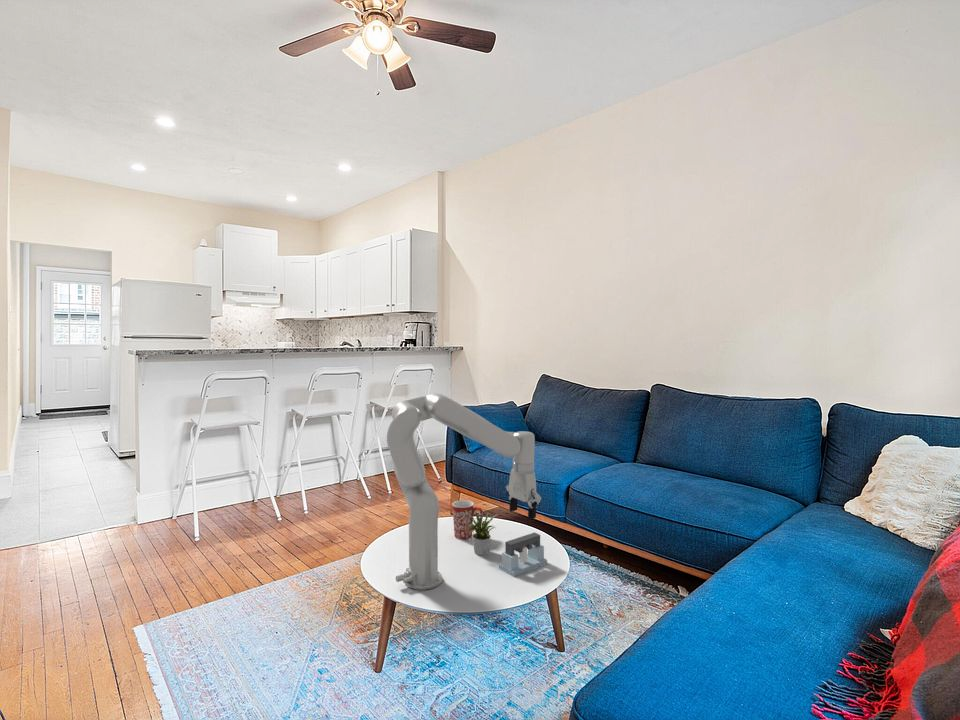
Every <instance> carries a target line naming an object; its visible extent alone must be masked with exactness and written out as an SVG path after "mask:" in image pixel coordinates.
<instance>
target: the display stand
mask: <svg viewBox="0 0 960 720" xmlns="http://www.w3.org/2000/svg"><path fill="white" fill-rule="evenodd" d="M518 553H519V552H518ZM544 553H545V546H544V545H542V544H540V546H538V547H536V546H534V545H532V549H530V550H529V549H527V547H526V546H522V552H521V553H519V555H518V554H517V553H515V552H514V555H513V556H510V555H508V554H506V553H505V551H502V552H501V562H500V563H498V569H499V570H501V571H503V572H504V573H506V574H508V575H509V576H511V577H516V576H520V575H522V574H524V573H527V572H530V571H532V570H535V569H537V567H538V568H540V567H542V566H541V565H543V566H545V565H547V564H548V559H547V558H545V554H544ZM546 563H547V564H546ZM544 564H545V565H544ZM539 566H540V567H539ZM534 568H535V569H534Z"/></svg>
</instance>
